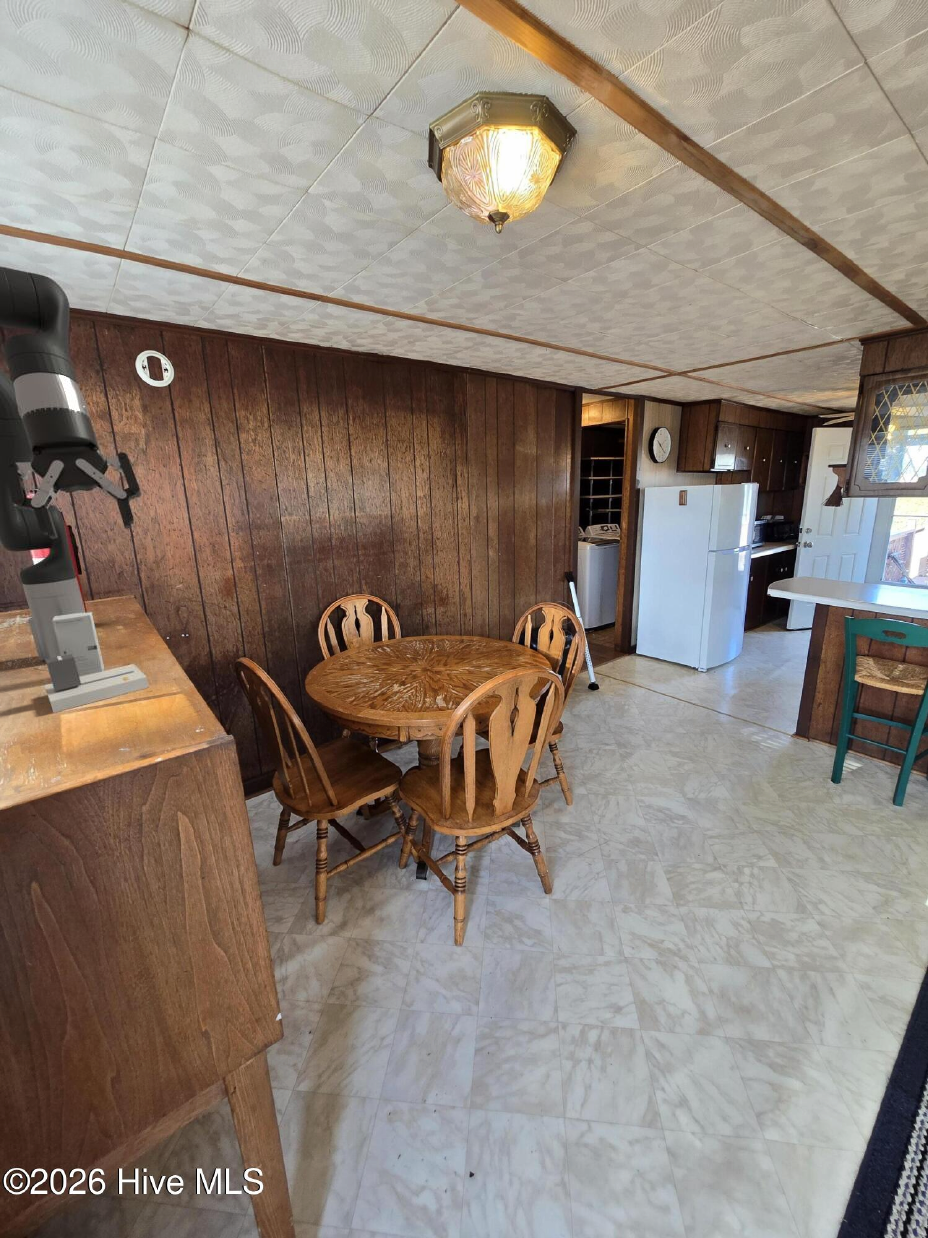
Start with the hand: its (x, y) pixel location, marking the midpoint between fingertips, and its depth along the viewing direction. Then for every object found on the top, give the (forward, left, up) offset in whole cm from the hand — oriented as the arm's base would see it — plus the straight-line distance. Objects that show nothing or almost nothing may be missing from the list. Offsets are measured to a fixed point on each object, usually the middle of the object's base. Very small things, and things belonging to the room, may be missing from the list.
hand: (91, 532), depth 69 cm
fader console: (-16, +13, -28) cm, 35 cm away
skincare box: (-26, +23, -29) cm, 45 cm away
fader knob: (-19, +10, -26) cm, 34 cm away
